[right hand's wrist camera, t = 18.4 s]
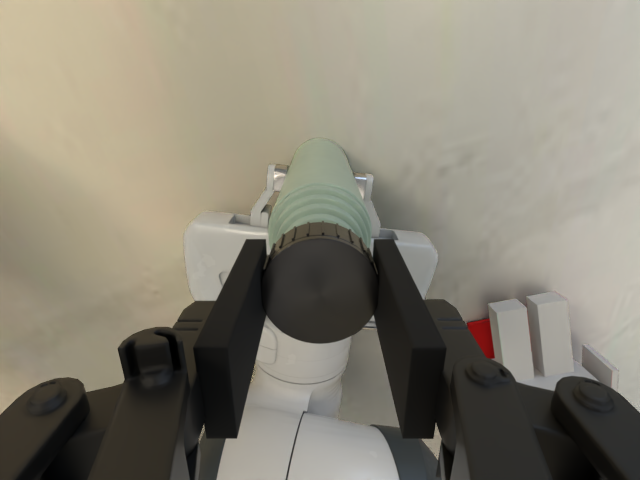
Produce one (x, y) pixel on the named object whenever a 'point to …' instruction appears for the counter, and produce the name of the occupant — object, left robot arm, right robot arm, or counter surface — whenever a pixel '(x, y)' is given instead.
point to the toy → (538, 342)
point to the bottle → (319, 193)
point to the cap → (319, 283)
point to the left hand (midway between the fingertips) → (320, 169)
